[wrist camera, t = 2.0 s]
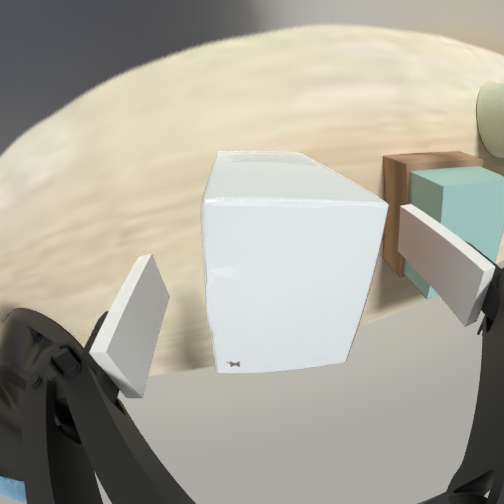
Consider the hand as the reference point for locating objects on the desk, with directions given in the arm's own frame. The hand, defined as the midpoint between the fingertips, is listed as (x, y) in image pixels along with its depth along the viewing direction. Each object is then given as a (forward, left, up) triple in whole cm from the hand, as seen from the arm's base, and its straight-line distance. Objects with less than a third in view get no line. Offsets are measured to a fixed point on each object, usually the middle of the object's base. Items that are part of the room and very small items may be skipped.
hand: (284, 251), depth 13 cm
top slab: (+15, -3, -5) cm, 17 cm away
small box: (0, 0, -9) cm, 9 cm away
